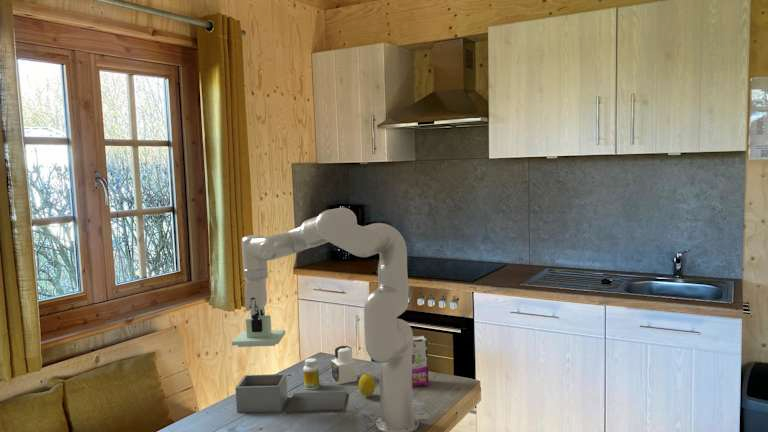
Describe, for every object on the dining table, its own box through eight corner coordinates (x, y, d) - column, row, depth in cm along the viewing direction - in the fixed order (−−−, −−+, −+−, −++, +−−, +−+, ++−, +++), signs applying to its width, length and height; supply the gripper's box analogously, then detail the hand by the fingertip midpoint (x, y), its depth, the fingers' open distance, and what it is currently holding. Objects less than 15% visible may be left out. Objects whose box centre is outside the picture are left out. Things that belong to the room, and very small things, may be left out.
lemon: (366, 392, 195) (365, 369, 195) (379, 396, 192) (378, 372, 191) (355, 397, 191) (354, 374, 190) (368, 401, 188) (367, 377, 187)
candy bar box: (426, 380, 204) (424, 335, 203) (428, 385, 199) (427, 339, 198) (394, 383, 203) (393, 337, 201) (396, 388, 198) (395, 341, 196)
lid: (285, 336, 192) (284, 312, 191) (278, 347, 181) (276, 321, 180) (242, 337, 192) (240, 313, 192) (232, 348, 181) (230, 323, 180)
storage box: (287, 397, 194) (286, 374, 193) (280, 411, 183) (279, 386, 182) (246, 398, 194) (244, 375, 193) (237, 412, 183) (235, 387, 182)
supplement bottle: (316, 390, 199) (315, 362, 198) (301, 389, 200) (300, 362, 199) (321, 384, 204) (320, 357, 203) (307, 383, 205) (305, 357, 204)
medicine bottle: (331, 378, 209) (330, 346, 208) (350, 374, 212) (348, 343, 211) (338, 385, 203) (337, 351, 202) (357, 381, 206) (356, 348, 205)
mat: (347, 393, 195) (347, 391, 195) (343, 411, 181) (343, 408, 181) (294, 395, 195) (294, 392, 195) (286, 412, 181) (286, 410, 181)
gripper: (250, 269, 193) (253, 323, 195) (236, 279, 176) (240, 337, 178) (272, 268, 193) (275, 322, 194) (261, 278, 176) (264, 337, 178)
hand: (258, 329), depth 186 cm, fingers closed on lid, 4 cm apart
